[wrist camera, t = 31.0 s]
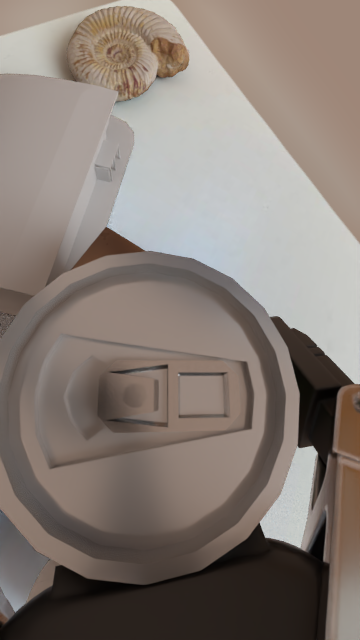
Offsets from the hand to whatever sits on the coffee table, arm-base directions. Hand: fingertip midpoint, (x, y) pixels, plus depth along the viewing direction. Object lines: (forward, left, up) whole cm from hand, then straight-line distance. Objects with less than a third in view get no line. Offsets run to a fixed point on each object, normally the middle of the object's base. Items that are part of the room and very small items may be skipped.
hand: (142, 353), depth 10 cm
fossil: (-21, +27, -15) cm, 37 cm away
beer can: (+1, -1, -7) cm, 7 cm away
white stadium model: (-19, +8, -15) cm, 26 cm away
